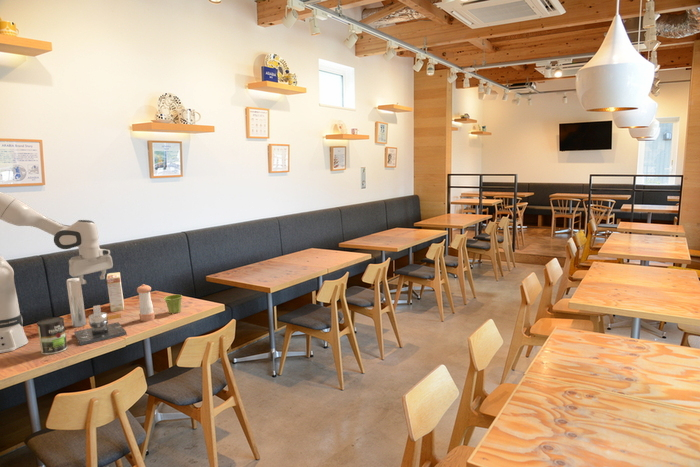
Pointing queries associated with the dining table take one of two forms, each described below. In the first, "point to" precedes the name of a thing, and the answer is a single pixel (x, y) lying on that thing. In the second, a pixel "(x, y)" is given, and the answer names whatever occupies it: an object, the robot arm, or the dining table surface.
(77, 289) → the thermos flask
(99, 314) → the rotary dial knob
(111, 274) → the coffeecake box
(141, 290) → the pepper shaker
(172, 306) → the plant pot
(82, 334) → the post plate
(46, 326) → the coffee can
